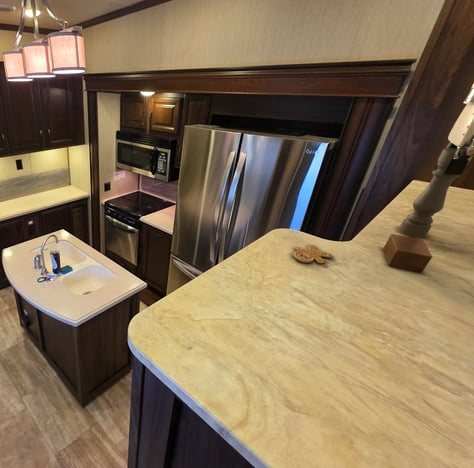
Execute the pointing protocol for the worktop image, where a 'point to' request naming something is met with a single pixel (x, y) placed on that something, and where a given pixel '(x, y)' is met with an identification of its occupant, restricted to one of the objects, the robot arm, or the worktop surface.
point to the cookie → (310, 254)
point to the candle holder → (430, 198)
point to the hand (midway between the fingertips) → (448, 169)
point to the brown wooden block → (407, 253)
